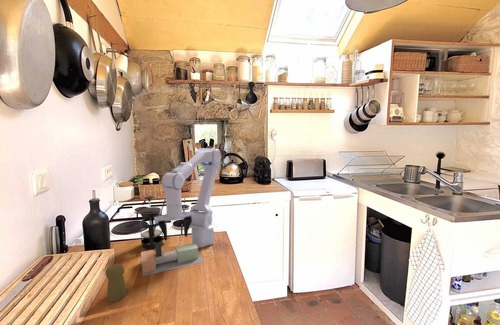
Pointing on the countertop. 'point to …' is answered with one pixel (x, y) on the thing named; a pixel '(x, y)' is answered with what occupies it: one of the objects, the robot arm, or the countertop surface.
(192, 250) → the outer sleeve
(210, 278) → the countertop surface
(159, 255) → the sliding bolt
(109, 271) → the olive green pepper mill
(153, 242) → the french press
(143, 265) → the socket block
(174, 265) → the base board
